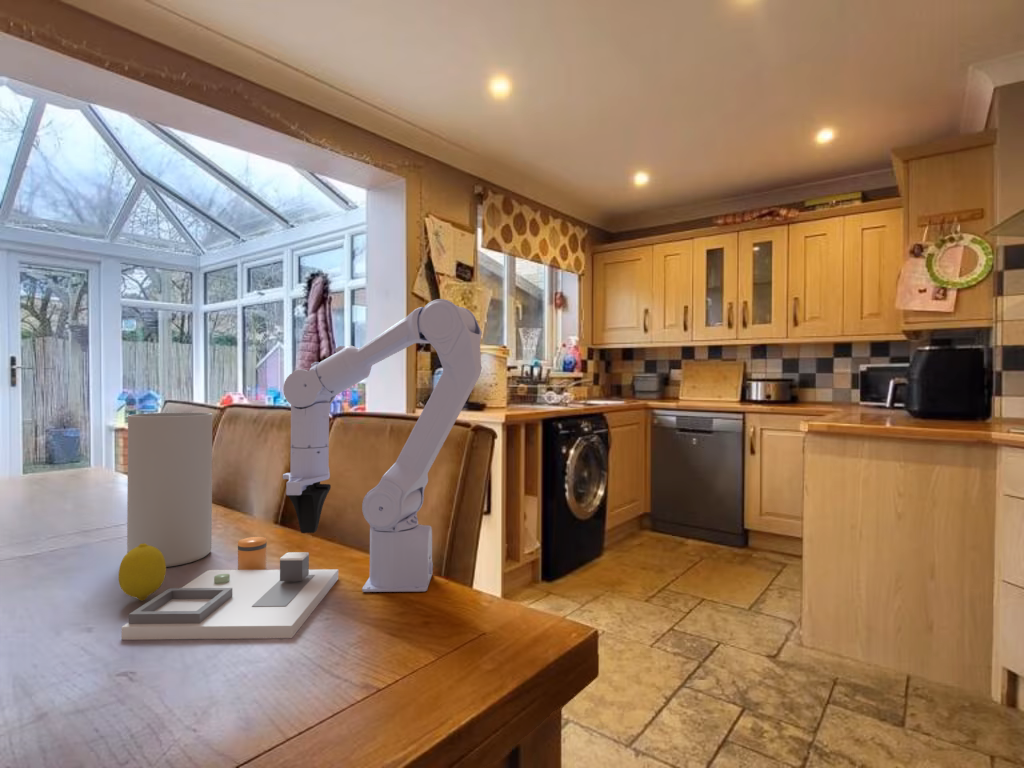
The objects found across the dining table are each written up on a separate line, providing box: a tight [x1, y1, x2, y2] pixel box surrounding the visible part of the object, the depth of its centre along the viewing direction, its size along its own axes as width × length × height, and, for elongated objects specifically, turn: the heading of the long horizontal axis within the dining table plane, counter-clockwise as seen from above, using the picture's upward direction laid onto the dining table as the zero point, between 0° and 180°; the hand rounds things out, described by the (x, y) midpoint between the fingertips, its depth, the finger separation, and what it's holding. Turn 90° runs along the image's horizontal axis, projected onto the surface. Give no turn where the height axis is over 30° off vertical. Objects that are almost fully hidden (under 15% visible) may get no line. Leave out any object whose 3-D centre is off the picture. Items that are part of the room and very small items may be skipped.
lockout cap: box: [237, 536, 267, 570], centre depth 90 cm, size 4×4×5 cm
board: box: [121, 568, 339, 641], centre depth 76 cm, size 20×20×3 cm
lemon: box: [118, 543, 167, 601], centre depth 77 cm, size 6×6×8 cm
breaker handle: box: [279, 551, 310, 581], centre depth 81 cm, size 3×3×3 cm
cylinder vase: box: [126, 412, 213, 568], centre depth 96 cm, size 12×12×25 cm
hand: (309, 531), depth 88 cm, fingers closed
